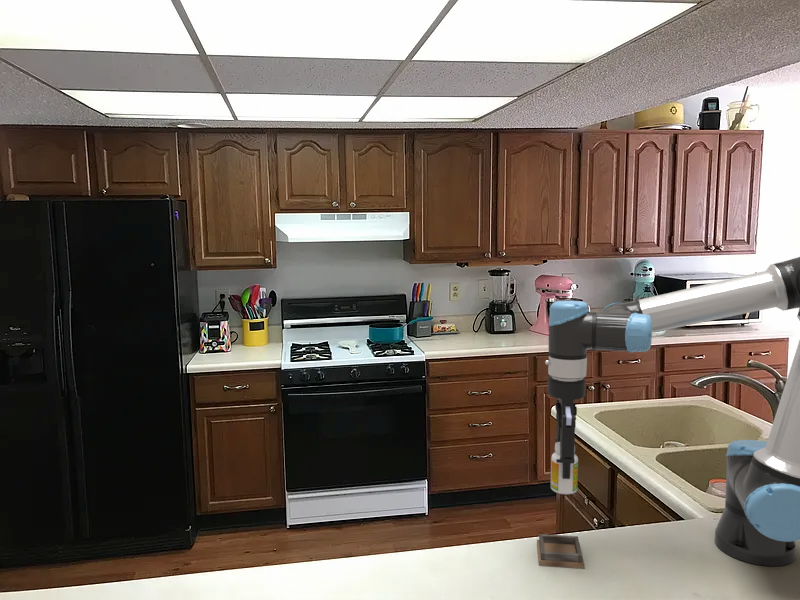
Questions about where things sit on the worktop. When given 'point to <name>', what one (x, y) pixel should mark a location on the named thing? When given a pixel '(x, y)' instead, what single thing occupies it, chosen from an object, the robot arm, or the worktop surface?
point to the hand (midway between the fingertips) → (563, 485)
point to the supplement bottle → (556, 470)
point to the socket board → (560, 551)
